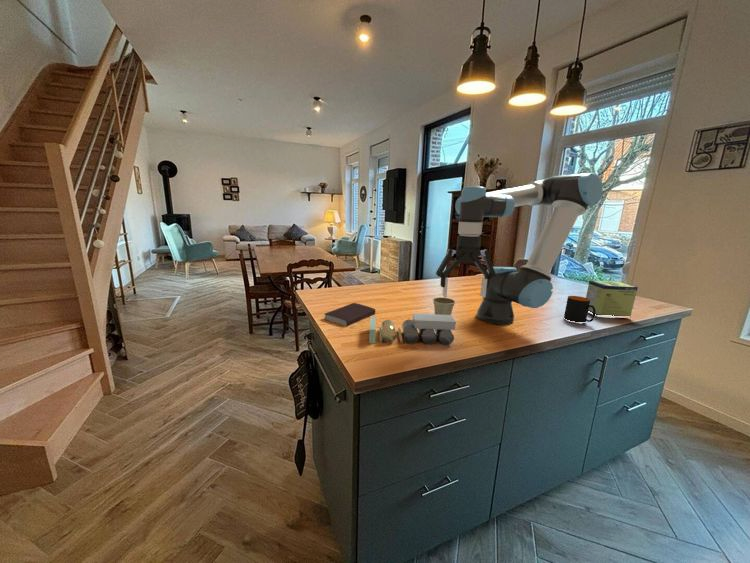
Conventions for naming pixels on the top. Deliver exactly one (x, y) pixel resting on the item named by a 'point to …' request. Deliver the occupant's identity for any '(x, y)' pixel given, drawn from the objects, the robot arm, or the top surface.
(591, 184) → the robot arm
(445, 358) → the top surface
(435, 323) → the slab
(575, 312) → the mug
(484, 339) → the top surface
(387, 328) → the roller
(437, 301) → the flower pot
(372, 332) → the stop fence
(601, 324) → the top surface
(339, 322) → the book
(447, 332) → the roller track
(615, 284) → the protein box
